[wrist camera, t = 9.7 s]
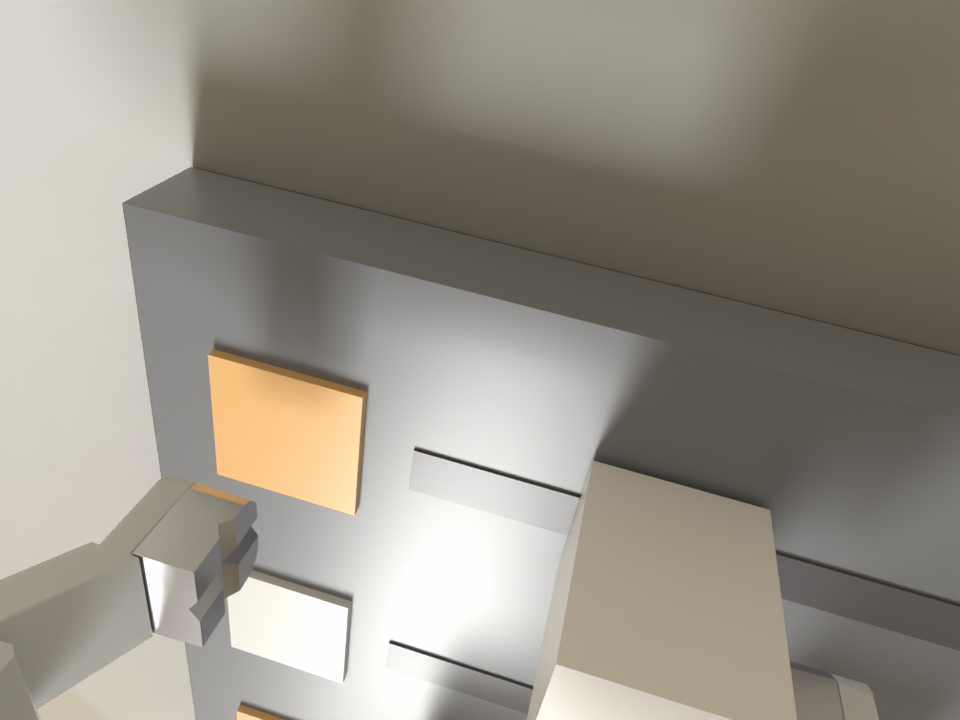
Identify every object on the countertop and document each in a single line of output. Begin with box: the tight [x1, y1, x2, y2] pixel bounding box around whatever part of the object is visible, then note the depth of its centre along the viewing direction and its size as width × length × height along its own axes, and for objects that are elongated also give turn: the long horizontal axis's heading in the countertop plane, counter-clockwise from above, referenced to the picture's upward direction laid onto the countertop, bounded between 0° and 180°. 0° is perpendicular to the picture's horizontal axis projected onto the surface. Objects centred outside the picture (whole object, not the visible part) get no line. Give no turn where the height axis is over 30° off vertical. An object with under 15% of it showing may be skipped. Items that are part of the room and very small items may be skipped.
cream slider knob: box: [527, 461, 797, 720], centre depth 11 cm, size 3×3×4 cm
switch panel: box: [122, 167, 960, 720], centre depth 17 cm, size 20×20×2 cm
